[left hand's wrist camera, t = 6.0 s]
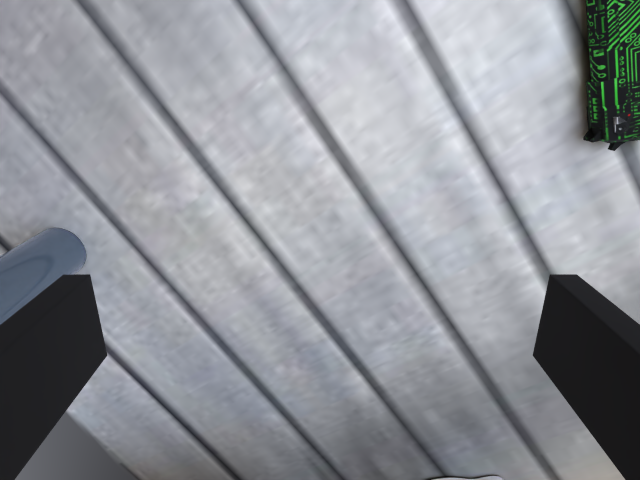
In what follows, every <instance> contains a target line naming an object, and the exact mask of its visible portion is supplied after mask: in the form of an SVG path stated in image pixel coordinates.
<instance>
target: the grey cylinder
mask: <svg viewBox="0 0 640 480" xmlns="http://www.w3.org/2000/svg"><path fill="white" fill-rule="evenodd" d="M85 261H86V251H85V248H84V245H83V244H82V242H81V241H80V239H79V238H78V237H77V236H75V235H74V234H73V233H71V232H69V231H67V230H64V229H60V228H50V229H46V230H44V231H42V232H41V233H39V234H37V235H36V236H34V237H32V238H30V239H29V240H27V241H25V242H24V243H22V244H20V245H18V246H17V247H15V248H13V249H11V250H10V251H8V252H6V253H5V254H3V255H1V256H0V325H1V324H2V323H3V322H4V321H6V320H7V319H8V318H9V317H11V316H12V315H13V314H14V313H16V312H17V311H18V310H19V309H21V308H22V307H23V306H24V305H26V304H27V303H28V302H30V301H31V300H32V299H33V298H35V297H36V296H37V295H38V294H40V293H41V292H42V291H43V290H45V289H46V288H47V287H48V286H50V285H51V284H52V283H53V282H55V281H56V280H57V279H58V278H60V277H61V276H62V275H74V274H75V273H76V272H78V271H79V270H80V269H81V268H82V267H83V265H84V263H85Z"/></svg>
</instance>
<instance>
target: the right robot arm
mask: <svg viewBox="0 0 640 480" xmlns="http://www.w3.org/2000/svg"><path fill="white" fill-rule="evenodd" d="M433 480H503V479H502V478H501V477H499V476H487V477H482V478H477V479H464V478H438V479H433Z"/></svg>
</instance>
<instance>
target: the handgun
mask: <svg viewBox="0 0 640 480" xmlns="http://www.w3.org/2000/svg"><path fill="white" fill-rule="evenodd" d="M586 11H587V28H588V44H589V58H590V72H591V80H590V81H587V82H586V85H587V97H588V106H587V117H588V130H589V131H588V132H587V133H586V135H585V136H584V138H583V140H586V141H590V142H596V141H603V142H607V143H610V146H609V148H608V149H609V150H613V151H615V150H616V149H617V148H618V147H619V146H620V145H621V144H623V143H625V142H626V141H635V140H640V0H586Z"/></svg>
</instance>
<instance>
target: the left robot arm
mask: <svg viewBox="0 0 640 480" xmlns="http://www.w3.org/2000/svg"><path fill="white" fill-rule="evenodd" d="M106 356H107V352H106V347H105V343H104V338H103V333H102V329H101V324H100V319H99V314H98V310H97V305H96V300H95V295H94V291H93V286H92V281H91V277H90V275H62V276H61V277H60V278H58V279H57V280H56V281H55V282H53V283H52V284H51V285H50V286H48V287H47V288H46V289H45V290H43V291H42V292H41V293H40V294H38V295H37V296H36V297H35V298H33V299H32V300H31V301H30V302H28V303H27V304H26V305H24V306H23V307H22V308H21V309H19V310H18V311H17V312H16V313H14V314H13V315H12V316H11V317H9V318H8V319H7V320H6V321H4V322H3V323H2V324H1V325H0V480H15V478H16V477H17V475H18V474H19V473H20V471H21V470H22V469H23V468H24V466H25V465H26V463H27V462H28V461H29V459H30V458H31V457H32V455H33V454H34V453H35V451H36V450H37V449H38V447H39V446H40V445H41V443H42V442H43V441H44V439H45V438H46V437H47V435H48V434H49V433H50V431H51V430H52V429H53V427H54V426H55V425H56V423H57V422H58V421H59V419H60V418H61V416H62V415H63V414H64V413H65V411H66V410H67V409H68V407H69V406H70V405H71V403H72V402H73V400H74V399H75V398H76V396H77V395H78V394H79V392H80V391H81V390H82V388H83V387H84V386H85V384H86V383H87V382H88V380H89V379H90V378H91V376H92V375H93V374H94V372H95V371H96V370H97V368H98V367H99V366H100V364H101V363H102V362H103V360H104V359H105V358H106ZM533 356H534V358H535V359H536V360H537V362H538V363H539V364H540V366H541V367H542V368H543V370H544V371H545V372H546V374H547V375H548V376H549V378H550V379H551V380H552V382H553V383H554V384H555V386H556V387H557V388H558V390H559V391H560V392H561V394H562V395H563V396H564V398H565V399H566V400H567V402H568V403H569V405H570V406H571V407H572V409H573V410H574V411H575V413H576V414H577V415H578V417H579V418H580V419H581V421H582V422H583V423H584V425H585V426H586V427H587V429H588V430H589V431H590V433H591V434H592V435H593V437H594V438H595V439H596V441H597V442H598V443H599V445H600V446H601V447H602V449H603V450H604V451H605V453H606V454H607V455H608V457H609V458H610V459H611V461H612V462H613V464H614V465H615V466H616V468H617V469H618V470H619V472H620V473H621V474H622V476H623V477H624V478H625V480H640V325H639V324H638V323H637V322H636V321H634V320H633V319H632V318H631V317H629V316H628V315H627V314H626V313H624V312H623V311H622V310H621V309H619V308H618V307H617V306H616V305H614V304H613V303H612V302H610V301H609V300H608V299H607V298H605V297H604V296H603V295H602V294H600V293H599V292H598V291H597V290H595V289H594V288H593V287H592V286H590V285H589V284H588V283H587V282H585V281H584V280H583V279H582V278H580V277H579V276H578V275H550V277H549V281H548V286H547V291H546V295H545V300H544V305H543V310H542V314H541V319H540V324H539V329H538V333H537V338H536V343H535V347H534V352H533Z"/></svg>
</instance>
